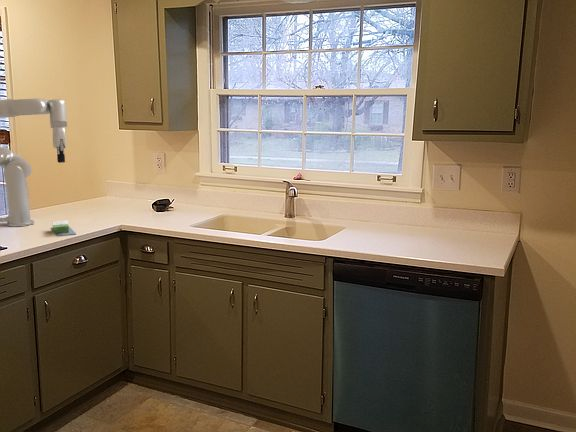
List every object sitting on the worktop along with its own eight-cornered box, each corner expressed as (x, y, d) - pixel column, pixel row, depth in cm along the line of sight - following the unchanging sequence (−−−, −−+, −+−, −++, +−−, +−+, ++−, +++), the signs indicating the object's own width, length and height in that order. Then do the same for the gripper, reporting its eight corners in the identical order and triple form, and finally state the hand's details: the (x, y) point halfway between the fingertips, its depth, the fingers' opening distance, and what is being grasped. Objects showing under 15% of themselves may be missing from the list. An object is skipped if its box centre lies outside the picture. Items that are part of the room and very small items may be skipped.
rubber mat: (57, 236, 246) (57, 235, 246) (51, 228, 263) (51, 227, 263) (76, 234, 250) (76, 233, 250) (68, 226, 267) (68, 225, 267)
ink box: (52, 229, 258) (53, 235, 246) (52, 221, 258) (52, 227, 246) (68, 228, 261) (69, 234, 249) (67, 220, 260) (68, 225, 248)
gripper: (48, 124, 270) (51, 161, 273) (52, 125, 257) (55, 163, 261) (64, 124, 273) (66, 160, 277) (69, 125, 261) (72, 163, 264)
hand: (61, 162), depth 269 cm, fingers closed
